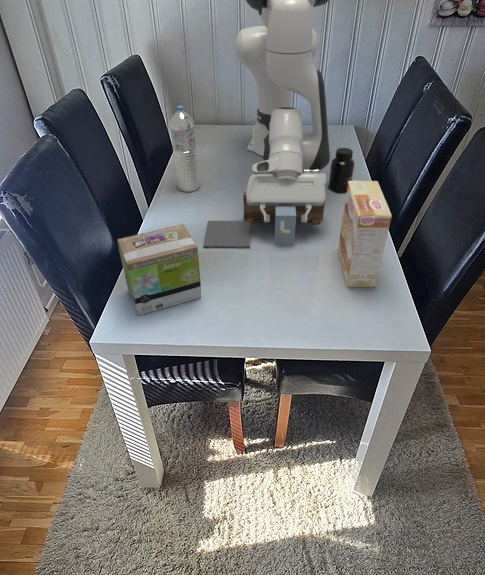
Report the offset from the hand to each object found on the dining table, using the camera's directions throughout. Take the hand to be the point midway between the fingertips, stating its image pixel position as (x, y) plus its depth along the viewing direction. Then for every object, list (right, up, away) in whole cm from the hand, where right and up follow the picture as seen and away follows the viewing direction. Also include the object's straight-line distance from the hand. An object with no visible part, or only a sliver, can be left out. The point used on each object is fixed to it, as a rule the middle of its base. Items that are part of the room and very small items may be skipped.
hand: (285, 222), depth 114 cm
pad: (-15, -3, +6) cm, 16 cm away
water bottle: (-28, +15, +26) cm, 41 cm away
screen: (+1, +3, +12) cm, 12 cm away
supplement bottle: (+19, +14, +25) cm, 34 cm away
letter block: (0, -4, +4) cm, 6 cm away
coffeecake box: (+17, -12, -5) cm, 21 cm away
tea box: (-29, -18, -11) cm, 36 cm away
